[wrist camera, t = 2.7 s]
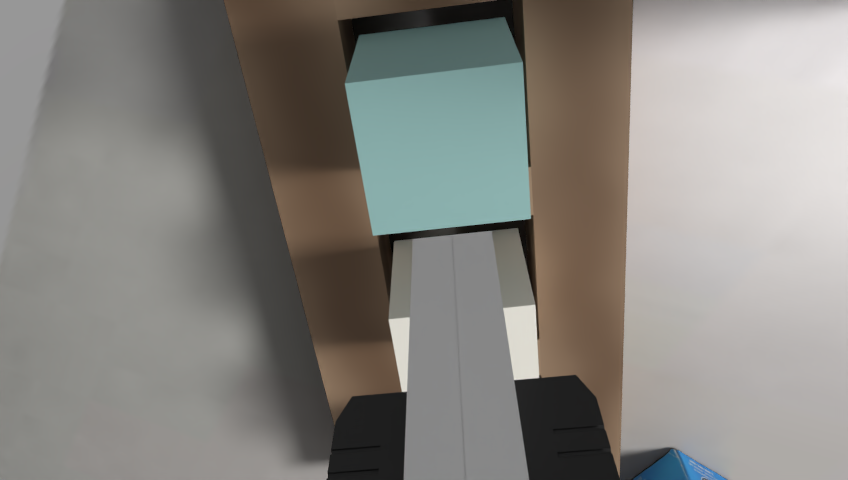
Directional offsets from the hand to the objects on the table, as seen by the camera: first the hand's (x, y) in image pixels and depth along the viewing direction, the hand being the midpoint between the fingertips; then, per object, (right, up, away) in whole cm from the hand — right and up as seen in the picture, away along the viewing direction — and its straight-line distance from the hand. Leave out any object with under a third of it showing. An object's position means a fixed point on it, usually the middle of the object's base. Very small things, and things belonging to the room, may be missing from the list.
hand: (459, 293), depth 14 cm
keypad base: (+1, +1, +17) cm, 17 cm away
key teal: (0, +6, +10) cm, 12 cm away
